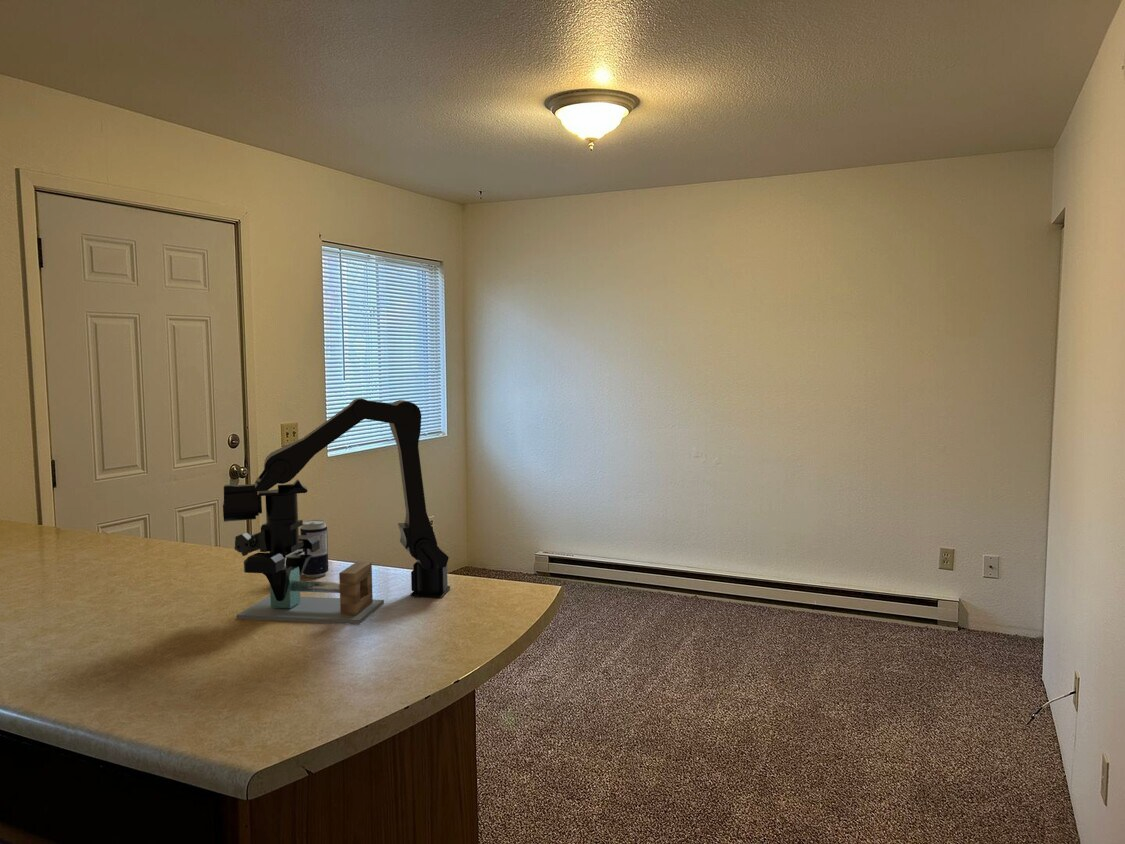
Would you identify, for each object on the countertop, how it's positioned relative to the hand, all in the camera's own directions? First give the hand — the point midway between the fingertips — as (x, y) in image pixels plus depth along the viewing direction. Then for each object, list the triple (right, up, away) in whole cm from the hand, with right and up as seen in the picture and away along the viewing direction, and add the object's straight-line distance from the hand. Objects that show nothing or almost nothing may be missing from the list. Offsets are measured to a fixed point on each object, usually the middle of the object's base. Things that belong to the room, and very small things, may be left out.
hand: (285, 597), depth 150 cm
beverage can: (-2, -1, +25) cm, 25 cm away
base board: (+5, -3, -1) cm, 6 cm away
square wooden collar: (+14, -3, -2) cm, 15 cm away
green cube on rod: (+6, -1, -1) cm, 7 cm away
